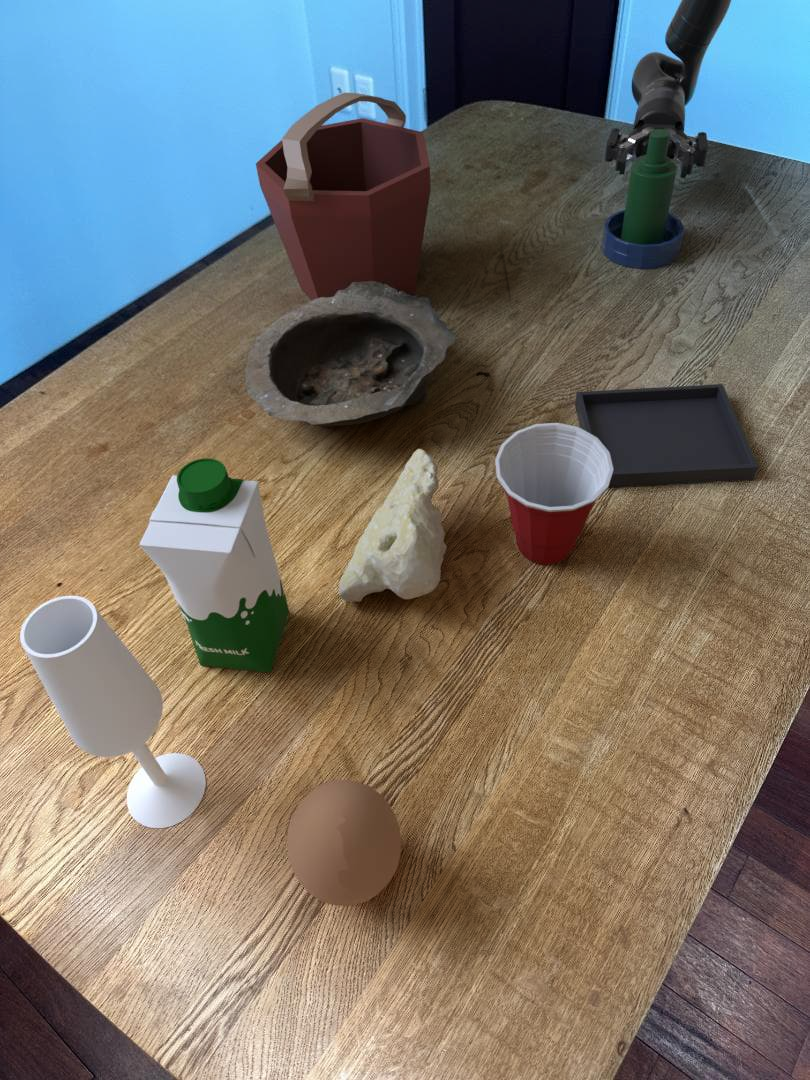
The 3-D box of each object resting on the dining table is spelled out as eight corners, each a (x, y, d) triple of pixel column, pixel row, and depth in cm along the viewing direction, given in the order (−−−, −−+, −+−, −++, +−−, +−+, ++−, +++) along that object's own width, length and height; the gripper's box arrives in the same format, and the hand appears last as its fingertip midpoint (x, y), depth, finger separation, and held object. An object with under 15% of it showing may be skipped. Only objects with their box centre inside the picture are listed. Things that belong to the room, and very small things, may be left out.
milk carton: (300, 605, 81) (262, 458, 66) (277, 684, 75) (229, 542, 60) (216, 597, 82) (160, 451, 67) (187, 674, 76) (118, 532, 61)
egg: (407, 816, 66) (398, 753, 57) (402, 925, 60) (392, 873, 52) (306, 814, 66) (283, 751, 58) (292, 922, 61) (264, 869, 53)
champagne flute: (213, 752, 71) (125, 582, 53) (197, 829, 66) (95, 672, 48) (137, 752, 71) (25, 583, 53) (117, 828, 67) (-14, 672, 49)
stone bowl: (487, 367, 103) (486, 307, 96) (377, 500, 92) (367, 443, 84) (332, 312, 113) (320, 253, 106) (215, 426, 101) (193, 369, 94)
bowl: (668, 230, 123) (673, 205, 120) (686, 269, 116) (692, 243, 113) (596, 235, 124) (599, 210, 121) (608, 274, 116) (612, 248, 113)
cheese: (398, 657, 78) (506, 549, 74) (339, 622, 75) (449, 506, 71) (376, 573, 91) (466, 477, 87) (325, 540, 88) (417, 438, 84)
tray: (718, 397, 97) (722, 383, 96) (753, 480, 88) (758, 467, 87) (574, 404, 98) (576, 391, 97) (594, 488, 89) (596, 475, 87)
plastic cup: (486, 581, 81) (488, 498, 72) (497, 503, 88) (500, 418, 79) (596, 592, 79) (613, 509, 70) (599, 512, 86) (614, 426, 77)
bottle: (656, 237, 121) (677, 122, 109) (665, 258, 117) (688, 141, 105) (615, 239, 122) (632, 125, 109) (623, 260, 118) (642, 144, 105)
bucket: (339, 351, 108) (312, 162, 89) (244, 289, 119) (202, 110, 101) (468, 277, 118) (469, 93, 99) (370, 226, 129) (353, 53, 111)
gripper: (615, 94, 124) (605, 140, 114) (712, 98, 121) (711, 145, 111) (609, 145, 130) (599, 192, 120) (702, 149, 127) (699, 198, 117)
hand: (653, 169), depth 115 cm, fingers open, 8 cm apart
